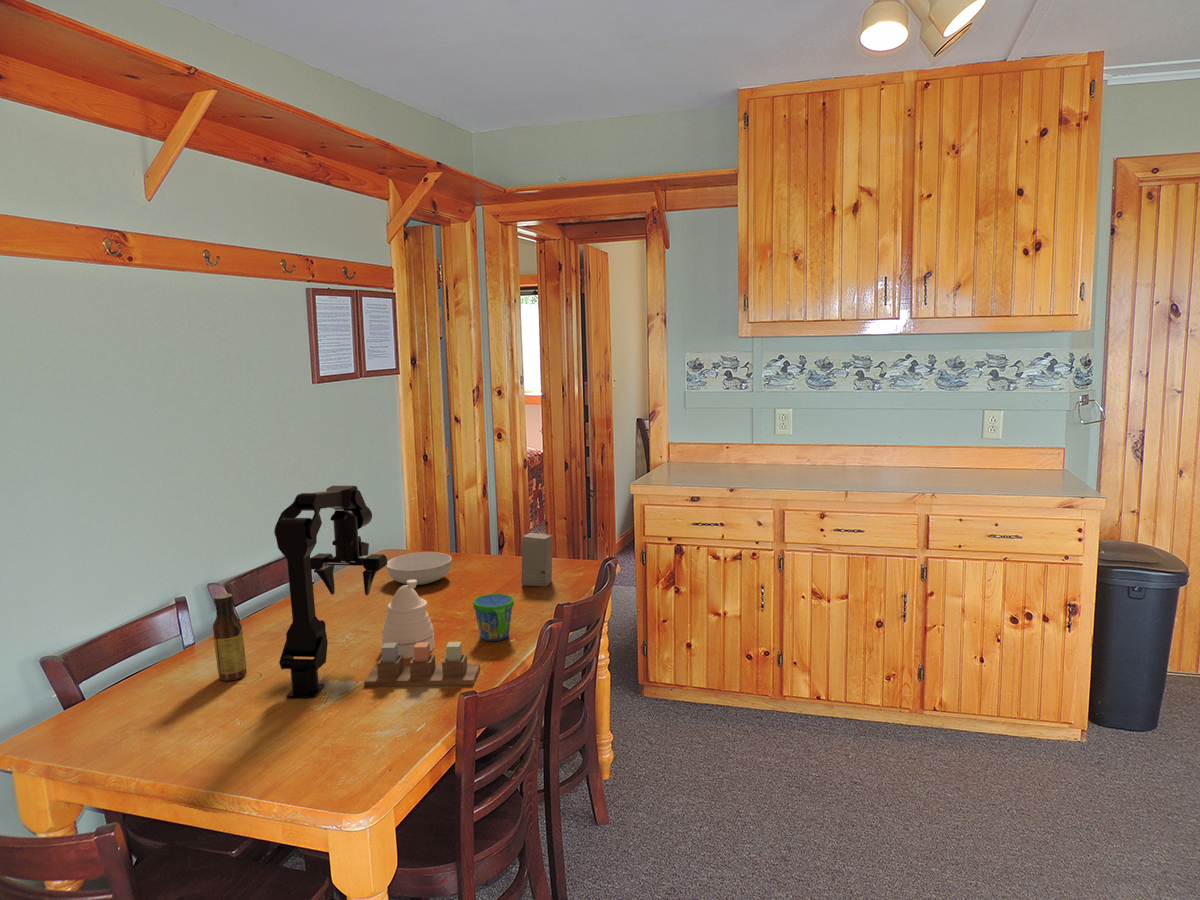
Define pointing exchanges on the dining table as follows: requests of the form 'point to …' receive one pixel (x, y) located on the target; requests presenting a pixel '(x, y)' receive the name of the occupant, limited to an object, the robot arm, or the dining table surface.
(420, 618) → the honey pot
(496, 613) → the snack cup
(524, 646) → the dining table surface
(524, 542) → the skincare box
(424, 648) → the orange rectangular block
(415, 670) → the brown block rack
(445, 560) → the serving bowl
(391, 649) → the grey chamfered block
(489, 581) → the dining table surface
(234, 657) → the sauce bottle
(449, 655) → the beige rectangular block
